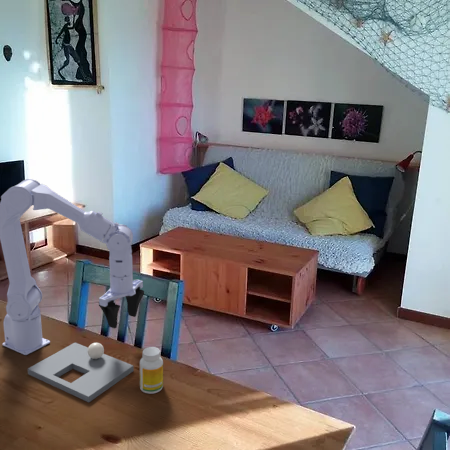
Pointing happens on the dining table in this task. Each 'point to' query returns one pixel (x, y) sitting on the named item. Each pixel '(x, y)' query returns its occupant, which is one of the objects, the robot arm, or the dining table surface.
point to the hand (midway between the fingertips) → (122, 321)
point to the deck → (79, 360)
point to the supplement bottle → (151, 370)
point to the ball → (95, 350)
